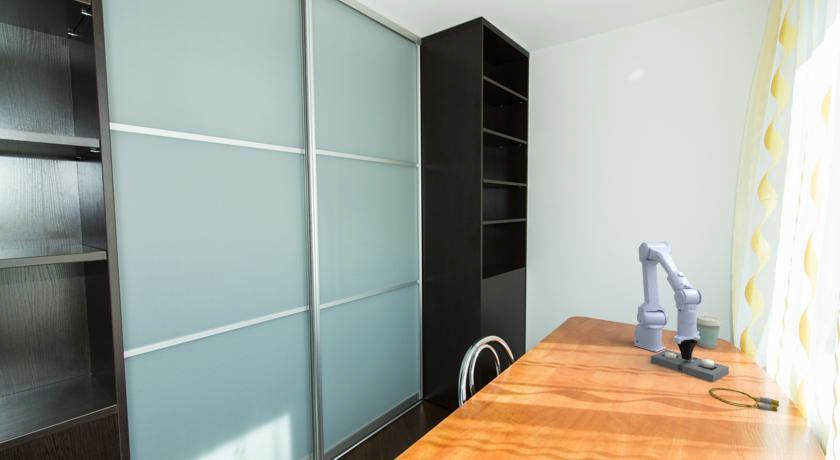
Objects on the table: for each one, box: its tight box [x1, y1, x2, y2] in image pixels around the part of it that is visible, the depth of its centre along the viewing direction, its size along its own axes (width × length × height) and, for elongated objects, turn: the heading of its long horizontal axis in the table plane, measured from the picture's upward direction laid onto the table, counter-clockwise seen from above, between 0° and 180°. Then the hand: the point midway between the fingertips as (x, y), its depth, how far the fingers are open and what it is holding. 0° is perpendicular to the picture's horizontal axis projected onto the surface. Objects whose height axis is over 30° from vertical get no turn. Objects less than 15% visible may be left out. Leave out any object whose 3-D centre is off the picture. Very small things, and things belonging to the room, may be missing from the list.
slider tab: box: [682, 352, 694, 363], centre depth 139 cm, size 3×2×3 cm
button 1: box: [665, 352, 676, 359], centre depth 144 cm, size 4×4×2 cm
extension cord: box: [709, 387, 780, 412], centre depth 116 cm, size 12×16×2 cm
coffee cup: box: [697, 315, 721, 350], centre depth 160 cm, size 8×8×12 cm
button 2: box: [700, 357, 715, 368], centre depth 134 cm, size 4×4×2 cm
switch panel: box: [650, 349, 730, 383], centre depth 139 cm, size 20×12×2 cm, turn 32°
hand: (686, 359), depth 138 cm, fingers closed
